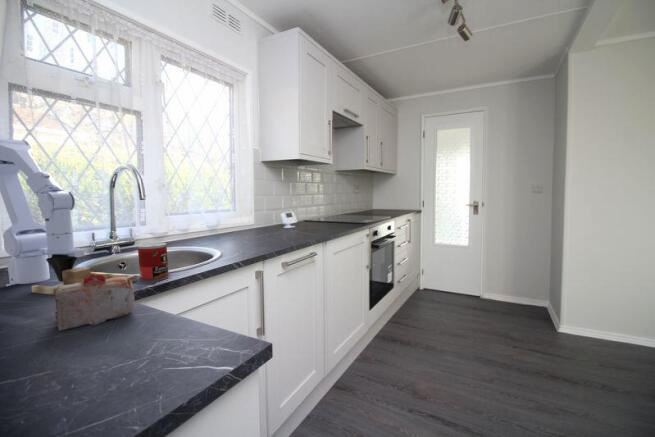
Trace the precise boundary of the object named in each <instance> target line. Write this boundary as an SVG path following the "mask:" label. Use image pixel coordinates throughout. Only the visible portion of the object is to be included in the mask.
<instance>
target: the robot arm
mask: <svg viewBox="0 0 655 437" xmlns="http://www.w3.org/2000/svg"><path fill="white" fill-rule="evenodd" d="M20 172H22V173H23V174H24V175H25V176H26V177H27V178H26V180H25V182H26V185H27V186H28V187H29V188H30V190H31V191H32V192H33V193H34V194H35V196H36V198H37V207H38V209H39V210H40V212H41V217H42V219H44V224H43V223H41V222H38V221H36V220H35V217H34V214H33V212H32V210H31V207H30V204H29V201H28V198H27V195H26V193H25V191H24V188H23V185H22V183H21V180H20V176H19V173H20ZM0 196H1V198H2V201H3V203H4V207H5V209H6V212H7V214H8V217H9V220H10V223H11V226H10V227H8V228H7V229H6V230H5V231H4V232H3V234H2V238H3V248H4V251H5V252H6V254H8V255H9V256H11V258H10V259H9V261H8V263H7V271H8V279H9V283H8V284H6V285H5V286H6V287H8V286H13V285H17V284H19V285H26V284H34V283H40V282H44V281H47V280H50V277H51V276H50V267H52V269H53V271H54V273H55V275H56V277H57V280H58V282H62V283H63V276H62V271H65V270H69V269H73V268H74V265H75V263H76V261H77V259H78V258H82V257H85V256H86V255H85V249H83V248H77V247H75V242H74V233H73V220H72V210H73V209H74V208H75V205H76V198H75V197H74V194H73V193H72V191H70V190H66V189H65V188H62V187H61V186H60V185H59V184H58V183H57V182H56V180H55V179H54V177H52V175H51V174H50V173H49V172H45V171H42V169H41V168H40V167H39V165H38V163H37V162H36V161H35V158H34V148H33V147H32V144H30V142H29V141H27V140H25V139H22V140H20V139H19V140H18V139H10V138H2V137H1V138H0ZM48 256H51V257H48ZM49 265H50V266H49Z"/></svg>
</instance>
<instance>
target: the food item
mask: <svg viewBox="0 0 655 437" xmlns="http://www.w3.org/2000/svg"><path fill="white" fill-rule="evenodd" d="M133 284H134V283H133V282H131V281H130V280H129V279H128V278H127V277H126V276H122V277H117V278H110V279H105V277H104V276H103V275H91V276H89V275H88V276H87V277H86V278H84V282H81V283H75V284H70V285H63V286H59V287H58V288H56V289H55V290H54V294H55V295H54V294H53V295H54V301H55V307H56V310H55V313H54V315H55V316H54V317H55V318H56V326H57V330H58V331H59V332H62V331H65V330H69V329H73V328H77V327H83V326H86V325H99V324H101V323H104V322H106V321H108V320H113V319H116V318H120V317H125V316H127V315H128V314H129V313H130V312H133V309H134V308H135V307H136V306H135V297H136V296H135V294H134V293H135V286H134V285H133Z"/></svg>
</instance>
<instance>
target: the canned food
mask: <svg viewBox="0 0 655 437" xmlns="http://www.w3.org/2000/svg"><path fill="white" fill-rule="evenodd" d="M137 255H138V265H139V266H138V267H139V277H140V279H141V280H155V279H161V278H162V280H158V281H157V283H158V282H162V281H163V282H164V281H166V280H168V276H169V261H168V259H169V258H168V246H167V242H161V241H160V242H147V243H141V244H139V245H137ZM165 277H166V278H165ZM163 278H164V279H163Z"/></svg>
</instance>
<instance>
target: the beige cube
mask: <svg viewBox="0 0 655 437" xmlns="http://www.w3.org/2000/svg"><path fill="white" fill-rule="evenodd" d="M91 272H92V271H91V267H81V266H79V267H73V268H72V269H69V270H65V271H62V276H63V282H62V284H63V285H70V284H75V283H81V282H84V278H86V277H87V276H88V275H89V276H91Z"/></svg>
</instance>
